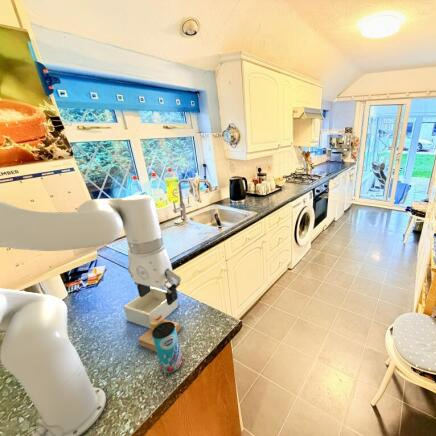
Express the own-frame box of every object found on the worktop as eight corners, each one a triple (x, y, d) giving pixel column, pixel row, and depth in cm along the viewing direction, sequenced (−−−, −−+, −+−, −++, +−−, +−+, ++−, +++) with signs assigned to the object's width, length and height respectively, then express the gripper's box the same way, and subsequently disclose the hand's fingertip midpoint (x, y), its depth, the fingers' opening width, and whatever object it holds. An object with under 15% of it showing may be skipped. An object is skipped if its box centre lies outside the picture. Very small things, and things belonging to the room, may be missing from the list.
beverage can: (165, 378, 70) (155, 341, 64) (159, 365, 74) (149, 329, 68) (185, 365, 74) (178, 329, 68) (178, 353, 78) (170, 318, 72)
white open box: (152, 329, 87) (148, 315, 84) (127, 320, 90) (123, 306, 88) (178, 306, 98) (175, 293, 95) (154, 299, 101) (151, 286, 99)
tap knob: (159, 336, 80) (155, 325, 78) (150, 333, 81) (146, 322, 79) (168, 328, 83) (165, 316, 82) (159, 325, 85) (156, 313, 83)
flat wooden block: (158, 352, 78) (156, 345, 77) (139, 345, 80) (137, 338, 79) (180, 329, 87) (179, 323, 85) (163, 323, 89) (161, 317, 88)
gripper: (106, 245, 59) (123, 299, 65) (161, 256, 54) (173, 314, 60) (133, 233, 66) (146, 283, 72) (184, 242, 61) (193, 296, 67)
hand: (158, 297), depth 66 cm, fingers open, 9 cm apart
